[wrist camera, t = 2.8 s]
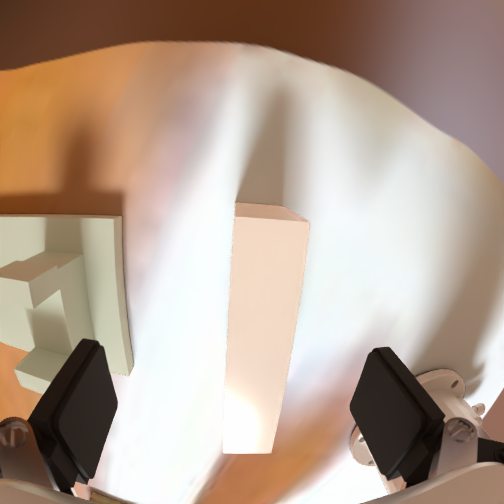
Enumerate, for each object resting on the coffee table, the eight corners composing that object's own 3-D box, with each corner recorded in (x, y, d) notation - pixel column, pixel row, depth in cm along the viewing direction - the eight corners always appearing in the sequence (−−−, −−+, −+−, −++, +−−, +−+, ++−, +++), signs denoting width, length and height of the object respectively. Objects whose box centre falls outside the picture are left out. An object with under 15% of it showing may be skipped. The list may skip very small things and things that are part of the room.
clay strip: (235, 202, 15) (234, 216, 9) (282, 205, 15) (310, 222, 9) (225, 384, 18) (223, 452, 12) (261, 385, 18) (270, 453, 12)
